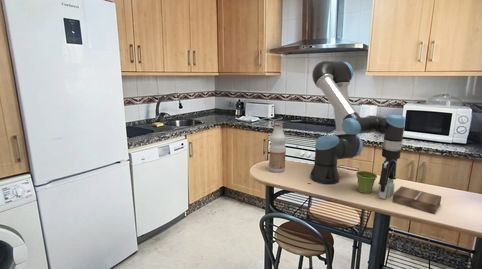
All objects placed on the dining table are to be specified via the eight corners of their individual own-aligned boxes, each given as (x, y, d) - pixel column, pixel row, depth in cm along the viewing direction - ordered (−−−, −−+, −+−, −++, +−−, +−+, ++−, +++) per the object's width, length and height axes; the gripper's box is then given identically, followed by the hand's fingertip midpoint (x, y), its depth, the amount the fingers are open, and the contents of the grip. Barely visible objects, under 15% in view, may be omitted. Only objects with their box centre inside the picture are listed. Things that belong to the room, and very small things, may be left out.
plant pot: (372, 188, 142) (374, 171, 140) (377, 196, 133) (379, 178, 131) (353, 186, 144) (354, 170, 142) (356, 194, 135) (357, 177, 133)
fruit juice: (272, 173, 162) (273, 125, 156) (266, 168, 170) (267, 122, 164) (287, 172, 164) (289, 124, 158) (281, 167, 173) (282, 122, 167)
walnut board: (392, 201, 127) (393, 193, 126) (400, 193, 135) (401, 186, 134) (434, 214, 116) (436, 205, 115) (440, 204, 125) (441, 196, 124)
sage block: (378, 195, 134) (379, 183, 132) (381, 192, 137) (383, 180, 136) (389, 198, 130) (391, 186, 129) (393, 195, 134) (394, 183, 133)
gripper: (393, 155, 119) (386, 204, 124) (407, 146, 134) (400, 190, 139) (374, 151, 124) (368, 199, 129) (390, 143, 139) (384, 186, 144)
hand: (385, 194), depth 134 cm, fingers open, 9 cm apart
